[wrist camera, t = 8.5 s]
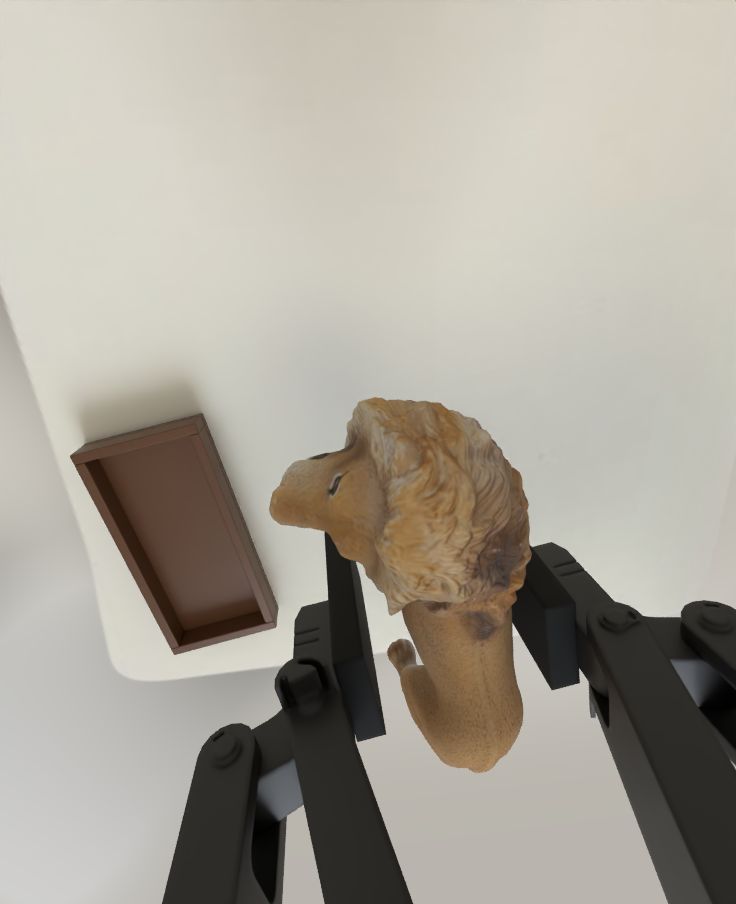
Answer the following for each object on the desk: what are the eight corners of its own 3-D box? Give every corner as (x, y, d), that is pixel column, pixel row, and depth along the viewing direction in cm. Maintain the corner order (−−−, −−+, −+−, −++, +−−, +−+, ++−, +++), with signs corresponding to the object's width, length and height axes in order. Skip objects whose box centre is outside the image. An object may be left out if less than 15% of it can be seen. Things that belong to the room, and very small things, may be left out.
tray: (278, 608, 33) (276, 627, 32) (181, 634, 33) (174, 655, 31) (202, 413, 28) (195, 423, 26) (85, 443, 27) (68, 455, 26)
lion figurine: (254, 390, 15) (233, 524, 6) (406, 325, 15) (578, 372, 7) (403, 693, 20) (497, 976, 12) (512, 641, 20) (678, 883, 12)
